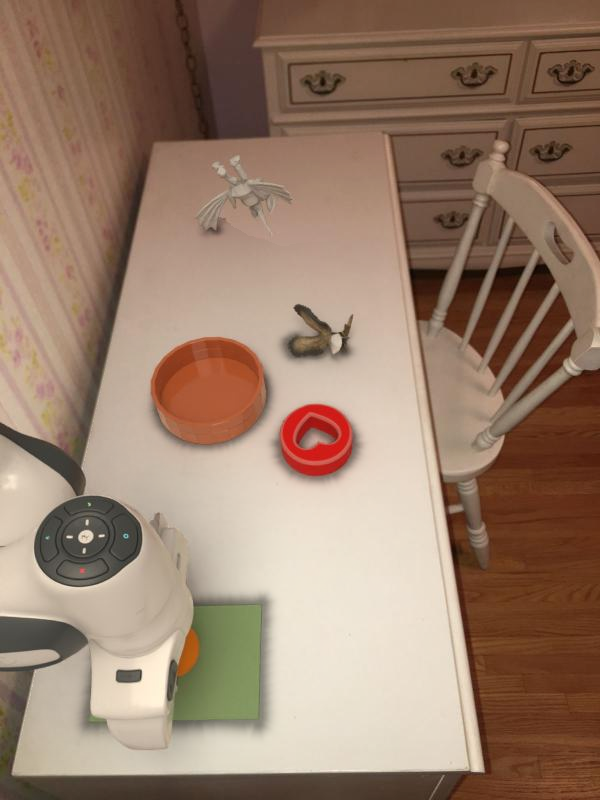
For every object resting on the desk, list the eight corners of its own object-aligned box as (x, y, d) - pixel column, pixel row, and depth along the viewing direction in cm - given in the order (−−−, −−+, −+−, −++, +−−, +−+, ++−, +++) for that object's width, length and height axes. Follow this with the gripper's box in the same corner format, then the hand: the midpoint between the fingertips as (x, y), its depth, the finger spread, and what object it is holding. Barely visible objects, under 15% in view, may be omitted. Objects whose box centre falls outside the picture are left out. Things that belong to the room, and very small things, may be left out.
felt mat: (89, 722, 68) (88, 721, 68) (108, 608, 75) (107, 608, 75) (258, 719, 68) (258, 718, 67) (261, 605, 75) (261, 604, 74)
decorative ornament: (322, 404, 91) (322, 391, 89) (366, 449, 86) (367, 437, 84) (267, 439, 88) (265, 427, 86) (309, 489, 83) (309, 477, 81)
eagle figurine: (350, 318, 99) (293, 306, 99) (356, 310, 92) (294, 297, 92) (341, 366, 99) (283, 354, 98) (345, 362, 92) (283, 349, 91)
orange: (171, 695, 68) (159, 682, 64) (143, 654, 71) (129, 639, 66) (214, 659, 70) (205, 644, 66) (184, 620, 73) (174, 603, 68)
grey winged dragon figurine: (309, 226, 110) (271, 177, 98) (220, 256, 117) (174, 212, 105) (307, 181, 114) (270, 127, 102) (220, 212, 121) (176, 165, 109)
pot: (199, 465, 86) (193, 447, 83) (137, 395, 94) (129, 376, 90) (288, 401, 92) (286, 382, 88) (223, 340, 99) (218, 320, 96)
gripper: (124, 505, 64) (156, 559, 75) (85, 736, 52) (130, 759, 63) (187, 503, 64) (209, 558, 75) (163, 734, 52) (194, 758, 63)
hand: (173, 651), depth 69 cm, fingers closed on orange, 5 cm apart
